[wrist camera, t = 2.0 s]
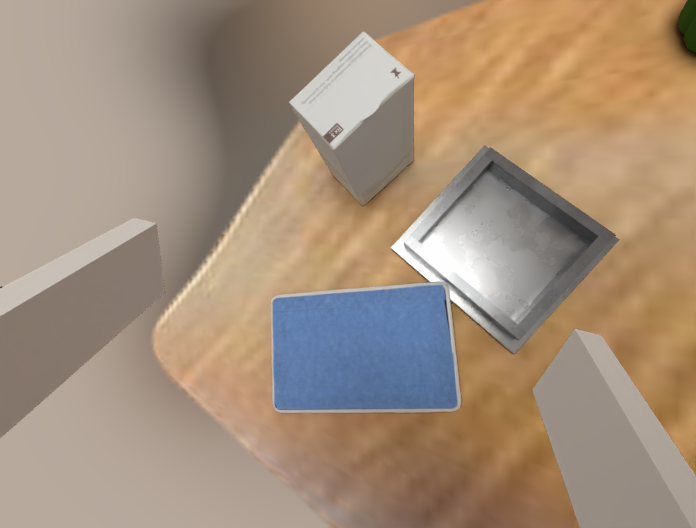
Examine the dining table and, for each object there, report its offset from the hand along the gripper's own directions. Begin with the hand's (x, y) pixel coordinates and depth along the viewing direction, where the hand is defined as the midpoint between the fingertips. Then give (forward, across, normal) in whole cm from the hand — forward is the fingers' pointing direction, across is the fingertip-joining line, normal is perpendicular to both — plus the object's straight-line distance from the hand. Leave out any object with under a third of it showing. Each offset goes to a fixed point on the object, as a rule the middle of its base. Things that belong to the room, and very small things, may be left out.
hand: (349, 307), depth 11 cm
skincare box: (+31, -2, -4) cm, 32 cm away
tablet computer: (+18, +1, -19) cm, 27 cm away
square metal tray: (+26, +13, -7) cm, 30 cm away
